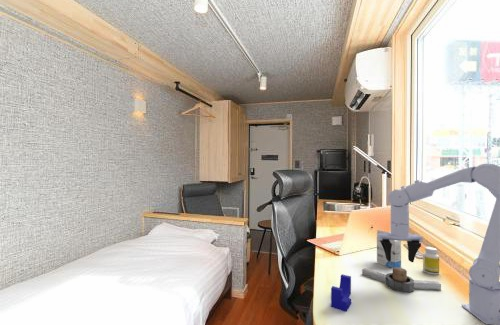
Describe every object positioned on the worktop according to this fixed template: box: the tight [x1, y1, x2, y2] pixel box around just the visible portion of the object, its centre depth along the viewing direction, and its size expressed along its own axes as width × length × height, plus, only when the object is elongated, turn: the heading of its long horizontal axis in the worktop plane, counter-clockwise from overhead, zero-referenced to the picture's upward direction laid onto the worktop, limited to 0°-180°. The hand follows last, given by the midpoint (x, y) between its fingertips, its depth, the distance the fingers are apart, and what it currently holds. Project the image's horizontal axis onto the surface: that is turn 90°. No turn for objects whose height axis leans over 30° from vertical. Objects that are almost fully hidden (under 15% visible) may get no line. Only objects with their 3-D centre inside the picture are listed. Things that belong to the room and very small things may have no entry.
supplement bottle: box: [422, 246, 440, 276], centre depth 104 cm, size 5×5×10 cm
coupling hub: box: [392, 267, 408, 282], centre depth 91 cm, size 5×4×6 cm
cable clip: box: [330, 274, 352, 313], centre depth 81 cm, size 12×4×6 cm, turn 145°
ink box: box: [376, 229, 402, 269], centre depth 111 cm, size 8×5×15 cm, turn 29°
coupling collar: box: [361, 267, 442, 294], centre depth 93 cm, size 14×23×3 cm, turn 84°
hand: (399, 260), depth 91 cm, fingers open, 7 cm apart
